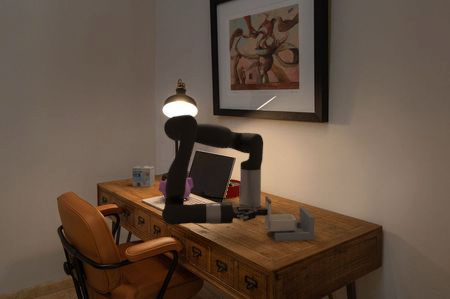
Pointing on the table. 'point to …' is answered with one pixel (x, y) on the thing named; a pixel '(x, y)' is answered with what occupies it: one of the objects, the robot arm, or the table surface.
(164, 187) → the pot
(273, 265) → the table surface
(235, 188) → the toy clock
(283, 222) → the toy cart
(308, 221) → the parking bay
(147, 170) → the light bulb box
